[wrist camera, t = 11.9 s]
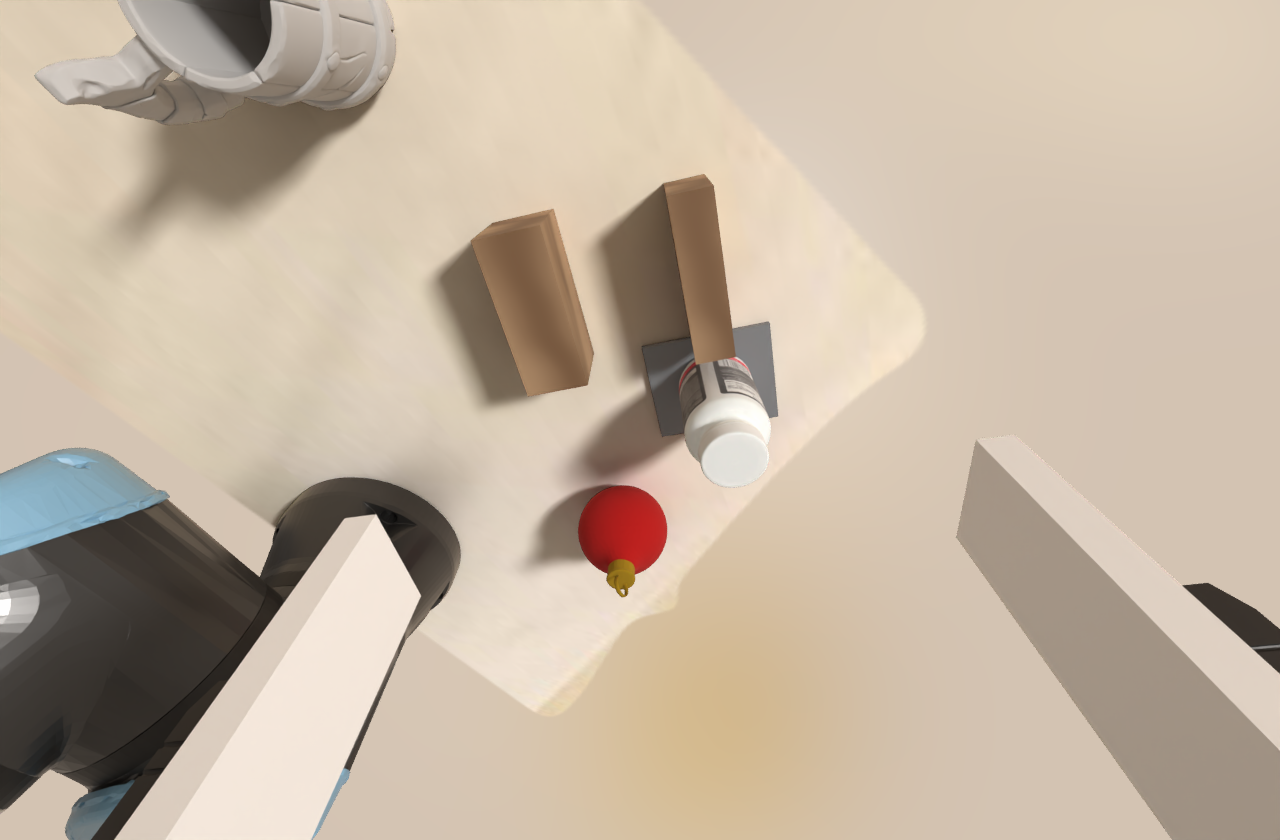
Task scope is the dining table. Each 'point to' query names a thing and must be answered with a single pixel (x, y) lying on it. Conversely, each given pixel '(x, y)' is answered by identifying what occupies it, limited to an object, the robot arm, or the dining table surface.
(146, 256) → the dining table surface
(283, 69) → the mug
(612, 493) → the christmas ornament
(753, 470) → the pill bottle
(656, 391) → the pad
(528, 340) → the block
